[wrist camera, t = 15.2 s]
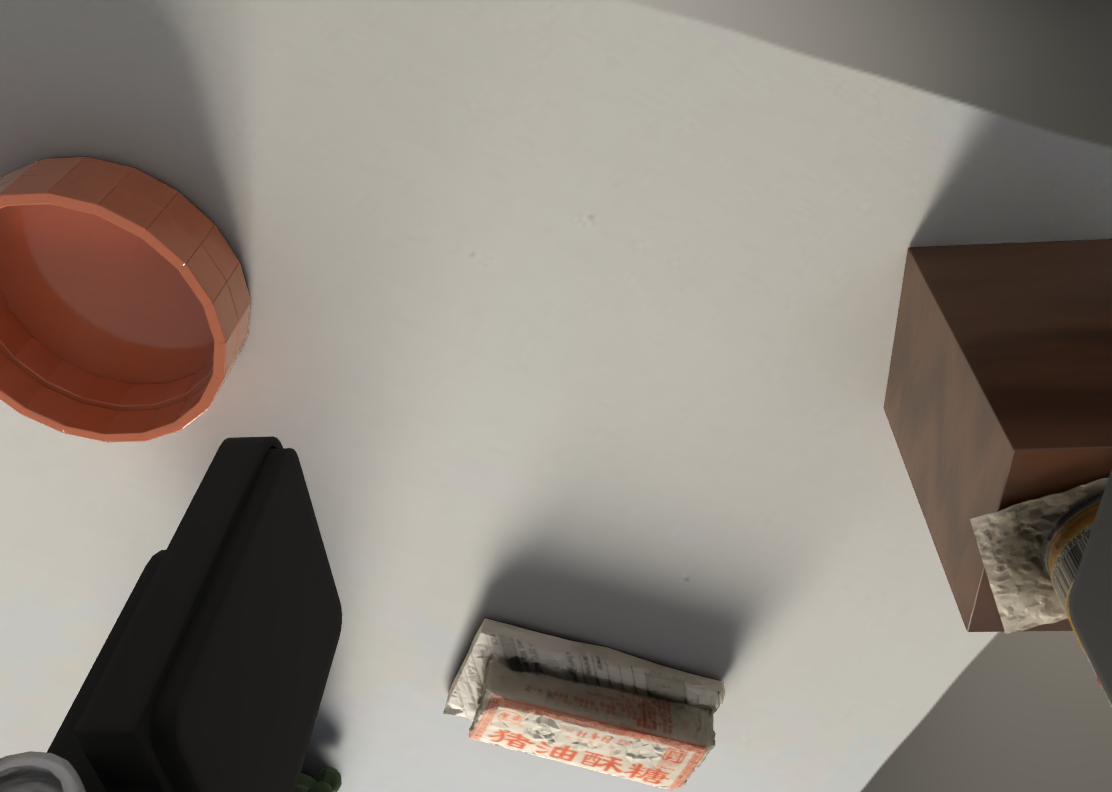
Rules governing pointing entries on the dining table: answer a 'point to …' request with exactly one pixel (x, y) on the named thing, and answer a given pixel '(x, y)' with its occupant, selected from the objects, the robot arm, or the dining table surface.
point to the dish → (113, 301)
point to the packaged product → (585, 705)
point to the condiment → (1037, 555)
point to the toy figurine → (320, 781)
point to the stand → (1000, 390)
